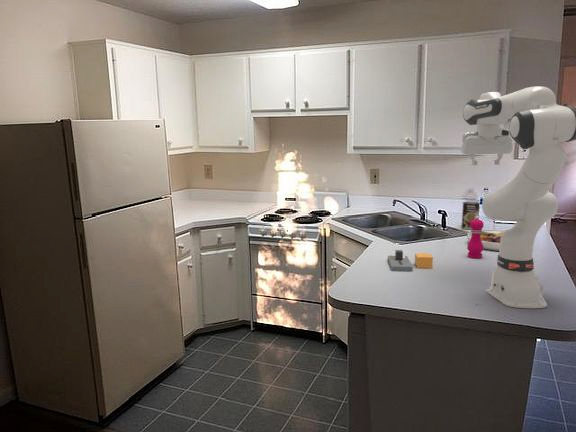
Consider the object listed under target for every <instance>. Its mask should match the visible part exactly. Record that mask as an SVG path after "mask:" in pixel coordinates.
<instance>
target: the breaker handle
mask: <svg viewBox="0 0 576 432" xmlns="http://www.w3.org/2000/svg"><path fill="white" fill-rule="evenodd" d="M394 251H395V252H394V253H395V254H394V256H395V258H396V259H399V260H403V256H404V252H403V250H401V249H395V250H394Z"/></svg>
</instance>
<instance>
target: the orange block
mask: <svg viewBox="0 0 576 432" xmlns="http://www.w3.org/2000/svg"><path fill="white" fill-rule="evenodd" d="M431 254H432V253H430V252H428V253H426V252H425V253H424V252H423V253H421V252H419V253H417V252H415V253H414V266H416V269H433V259H434V257H433V256H432V255H431Z"/></svg>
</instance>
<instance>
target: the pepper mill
mask: <svg viewBox="0 0 576 432" xmlns="http://www.w3.org/2000/svg"><path fill="white" fill-rule="evenodd" d="M470 227H471V228H472V229H471V230H470V232H472V237H471V240H470V242H469V241H468V243H467V246H466V249H467V250H468V252H467V257H468V258H471V259H482V258H483V254H482V252H483V251H484V249H483V244H482V241H481V233H482V230H483V228H484V221H483V220H482V219H480V216H476V217H475V219H474V220H472V221H471V222H470Z"/></svg>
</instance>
